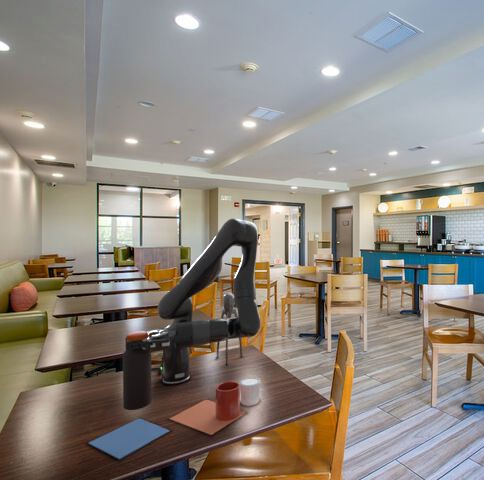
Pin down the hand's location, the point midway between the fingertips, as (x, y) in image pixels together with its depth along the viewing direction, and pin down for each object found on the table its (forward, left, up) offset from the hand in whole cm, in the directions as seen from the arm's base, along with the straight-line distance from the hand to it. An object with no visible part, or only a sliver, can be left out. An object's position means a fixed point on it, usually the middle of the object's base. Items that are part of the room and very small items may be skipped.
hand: (125, 343), depth 95 cm
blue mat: (+1, +1, -26) cm, 26 cm away
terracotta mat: (+11, +19, -26) cm, 34 cm away
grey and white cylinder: (+16, +32, -26) cm, 44 cm away
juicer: (-21, +57, -26) cm, 66 cm away
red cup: (+16, +22, -26) cm, 37 cm away
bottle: (+1, +2, -18) cm, 18 cm away
